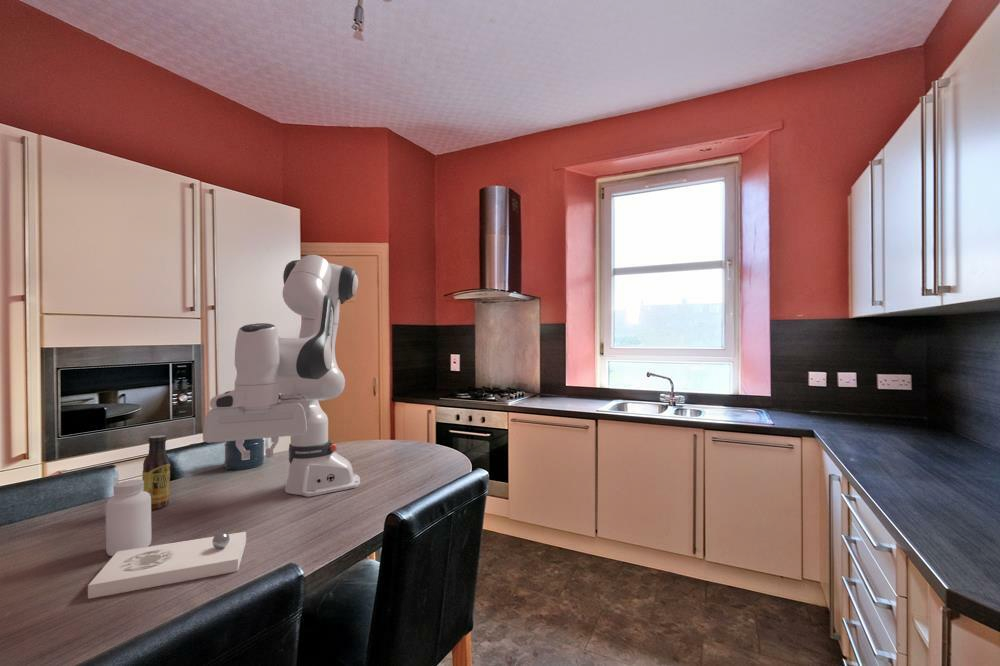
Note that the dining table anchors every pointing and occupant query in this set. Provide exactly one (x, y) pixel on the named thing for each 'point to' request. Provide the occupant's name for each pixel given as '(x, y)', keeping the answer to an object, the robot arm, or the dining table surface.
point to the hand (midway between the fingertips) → (257, 458)
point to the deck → (167, 565)
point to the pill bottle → (128, 517)
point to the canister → (235, 456)
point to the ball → (220, 540)
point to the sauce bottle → (157, 472)
